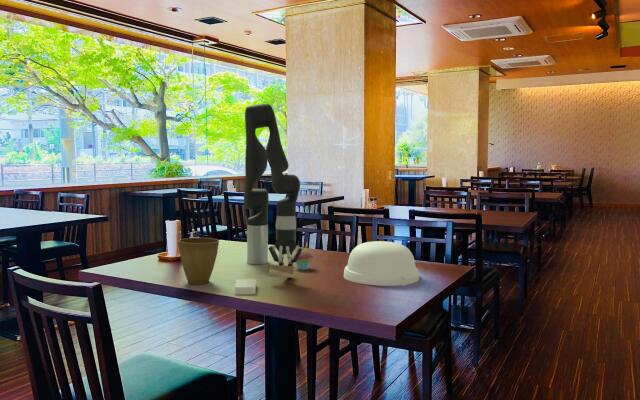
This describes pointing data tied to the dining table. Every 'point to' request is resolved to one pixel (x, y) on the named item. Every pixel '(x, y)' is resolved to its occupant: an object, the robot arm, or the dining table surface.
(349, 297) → the dining table surface
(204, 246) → the plant pot
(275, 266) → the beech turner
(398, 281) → the dome cover
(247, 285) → the pink white upright block
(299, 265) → the cupcake
